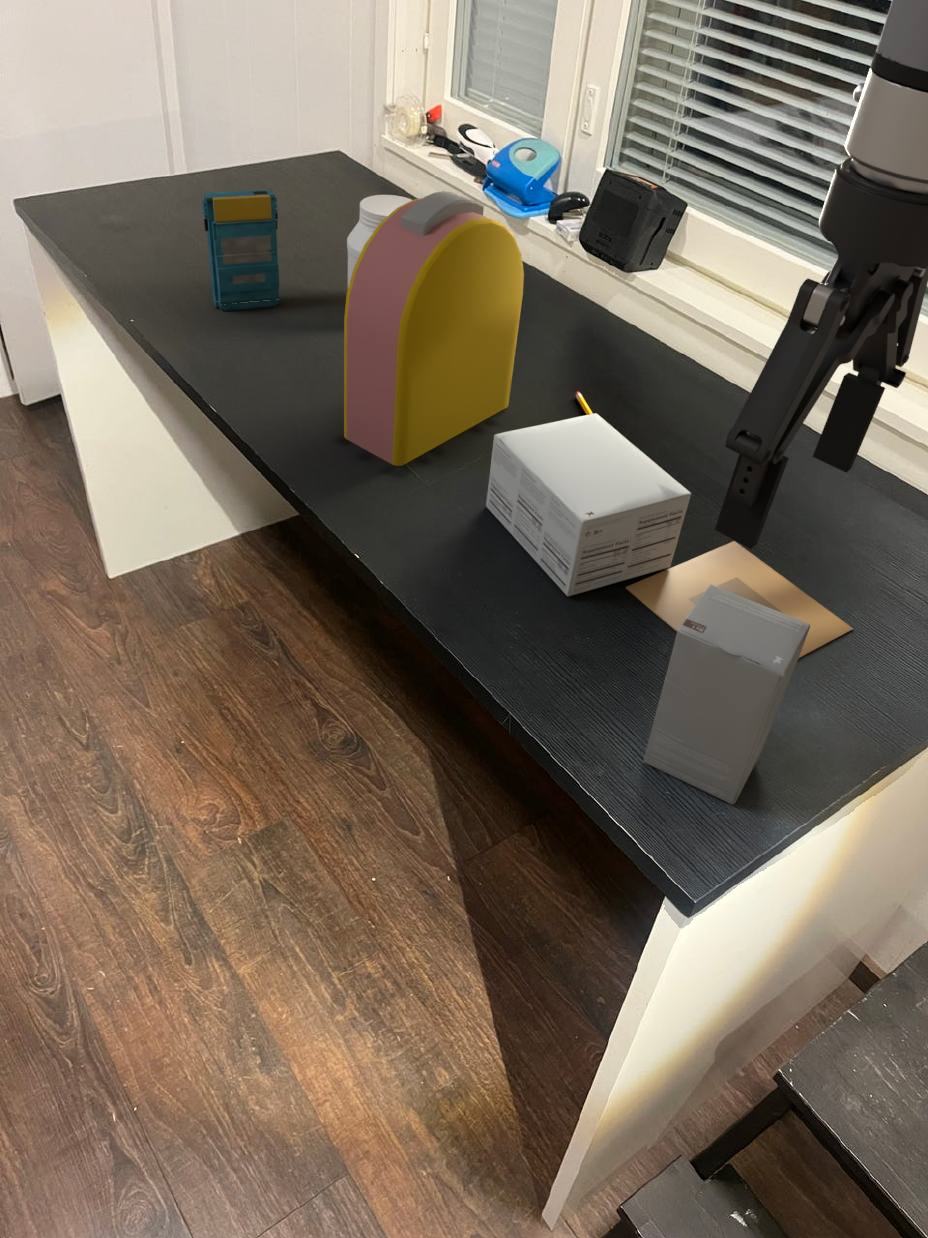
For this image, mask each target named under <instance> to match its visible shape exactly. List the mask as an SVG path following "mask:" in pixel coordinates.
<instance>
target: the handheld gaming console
mask: <svg viewBox="0 0 928 1238" xmlns="http://www.w3.org/2000/svg"><path fill="white" fill-rule="evenodd" d="M203 196H204V198H203V199H201V204H202V207H201V208H202V210H203V211H202V215H203V217H204V218H203V222H204V223H203V224H204V231H205V232H206V237H207V246H208V247H207V248H208V258H209V268H210V279H211V293H212V299H213V305H214V307H215V309H217V310H218V309H220V310H222V311H223V312H232V311H244V310H253V309H254V310H255V309H266V308H276V307H277V305H279V304H280V271H279V262H278V259H279V258H278V239H277V230H278V219H279V216H278V215H279V214H278V213H279V212H278V204H277V203H278V199H277V197H276V194H275V193H274V192H273V190H266V189H258V190H257V189H256V190H237V191H218V192H216V191H215V192H208V193H203ZM276 299H279V300H276ZM263 300H270V301H263ZM216 301H219V302H216ZM249 301H259V302H249ZM240 302H241V303H240ZM242 302H248V303H242ZM232 303H233V304H232ZM234 303H237V304H234ZM221 304H222V305H221ZM224 304H226V305H224Z"/></svg>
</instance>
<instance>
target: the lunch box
mask: <svg viewBox="0 0 928 1238" xmlns="http://www.w3.org/2000/svg"><path fill="white" fill-rule="evenodd" d="M484 208H485V207H484V205H483V203H481V202H478V201H476V200H473V199H471V198H468V197H466V196H463V195H460V194H458V193H455V192H452V191H445V190H444V191H443V190H442V191H437V192H436V191H435V192H433V193H430V194H428V195H426V196H424V197H422V198H414V199H412V201H410V202H408V203H406V204H404V205H402V206H400V207H398V208H397V209H395V210H394V211H393V212H392V213H391V214H390V215H389V216H388V217H386V218H385V219H384V220H383V221H382V222H381V223H380V224H379V225H378V227H377V228H376V229H375V231H374V232H373V234H372V235H371V236H370V238H369V239H368V241H367V242H366V243H365V245H364V247H363V249H362V252H361V254H360V256H359V258H358V260H357V262H356V264H355V267H354V269H353V273H352V276H351V280H350V283H349V287H348V286H347V292H346V296H345V297H346V298H345V308H344V318H343V321H344V322H343V323H344V324H343V334H344V335H343V338H344V339H343V347H344V349H343V366H344V367H343V388H344V389H343V437H344V438H345V439H346V440H347V441H349V442H350V443H352V444H354V445H356V446H358V447H360V448H361V449H363V450H365V451H367V452H369V453H371V454H372V455H374V456H376V457H378V458H379V459H381V460H383V461H385V462H387V463H388V464H389V465H392V466H395V467H402V466H404V465H406V464H408V463H409V462H411V461H413V460H415V459H417V458H419V457H420V456H422V455H424V454H426V453H428V452H429V451H431V450H433V449H435V448H436V447H438V446H441V445H442V444H444V443H446V442H447V441H449V440H451V439H453V438H455V437H456V436H458V435H459V434H462V433H463V432H466V431H467V430H469V429H471V428H473V427H474V426H476V425H478V424H480V423H481V422H483V421H485V420H487V419H489V418H491V417H492V416H494V415H496V414H498V413H500V412H501V411H503V410H505V409H507V408H509V403H510V396H511V395H510V394H511V387H512V379H513V373H514V372H513V371H514V366H515V365H514V364H515V357H516V348H517V342H518V333H519V326H520V320H521V319H520V318H521V310H522V303H523V295H524V279H525V278H524V277H525V272H524V265H523V264H524V263H523V257H522V252H521V250H520V248H519V245H518V243H517V239H516V238H515V236H514V234H513V233H512V231H510V229H508V227H506V225H504V223H502V222H501V221H498V220H496V219H493V218H491V217H489V216H485V215H484Z"/></svg>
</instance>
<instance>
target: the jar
mask: <svg viewBox="0 0 928 1238" xmlns="http://www.w3.org/2000/svg"><path fill="white" fill-rule="evenodd" d="M412 200H413V199H411V198H409V197H405V196H400V195H395V194H375V195H369V196H367V197H365V198H362V200H360V202H359V211H358V212H359V219H358V221H357V222H356V224H355V226H354V227H353V228H352V230H351V232H350V233H349V234H348V236H347V239H346V249H347V288H348V287H349V283H350V280H351V276H352V273H353V269H354V267H355V264H356V262H357V260H358V258H359V256H360V254H361V252H362V249H363V247H364V245H365V243H366V242H367V241H368V239H369V238H370V236H371V235H372V234H373V232H374V231H375V229H376V228H377V227H378V225H379V224H380V223H381V222H382V221H383V220H384V219H385V218H386V217H388V216H389V215H390V214H391V213H392V212H393V211H394V210H395V209H397V208H398V207H400V206H402V205H404V204H406V203H408V202H410V201H412Z"/></svg>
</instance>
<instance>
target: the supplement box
mask: <svg viewBox="0 0 928 1238" xmlns="http://www.w3.org/2000/svg"><path fill="white" fill-rule="evenodd" d="M490 461H491V462H490V469H489V478H488V485H487V492H486V500H485V501H486V502H485V507H486V508H487V509H488V511H490V512H491V514H492V515H493V516H494V517H495V518H496V519H497V520H498V521H499V522H500V523H501V525H502V526H503V527H504V529H506V530H507V532H508V533H510V535H512V537H513V538H514V539H515V540H516V541H517V543H519V545H520V546H521V547H522V548H523V549H524V550H525V551H526V552H527V553H528V554H529V556H530V557H531V558H532V559H533V560H534V561H535V563H537V564H538V566H539V567H540V568H541V569H542V570H543V571H544V572H545V573H546V574H547V576H548V577H549V578H550V579H551V580H552V581H553V582H554V583H555V585H557V587H558V588H559V589H560V590H561V591H562V592H563V593H564V594H565V596H566V597H572V596H574V595H578V594H582V593H585V592H589V591H592V590H596V589H598V588H599V589H600V588H602V587H606V586H609V585H613V584H617V583H619V582H624V581H627V580H630V579H634V578H638V577H640V576H644V575H648V574H651V573H655V572H659V571H661V570H662V571H663V570H666V569H670V568H671V567H672V562H673V558H674V555H675V552H676V549H677V545H678V542H679V538H680V536H681V535H680V534H681V530H682V528H683V523H684V519H685V516H686V513H687V510H688V506H689V504H690V503H689V502H690V499H691V496H692V492H691V491H689V490H688V489H687V488H686V487H685V486H683V485H682V484H681V483H680V482H678V481H677V480H676V479H674V477H672V476H671V475H670V474H669V473H668V472H666V471H665V470H664V469H663V468H662V467H661V466H659V465H658V464H657V463H656V462H655V461H654V460H652V459H651V458H650V457H649V456H647V455H646V454H645V453H644V452H643V451H642V450H640V449H639V448H638V447H637V446H636V445H635V444H633V443H632V442H630V440H628V439H627V438H626V437H625V436H624V435H623V434H621V433H620V432H619V431H618V430H617V429H615V428H614V427H613V426H612V424H610V423H609V422H607V421H606V420H605V419H604V418H603V417H601V416H600V415H599V414H598V413H593V414H590V415H587V414H586V415H580V416H575V417H571V418H565V419H561V420H557V421H553V422H552V421H551V422H547V423H542V424H538V425H533V426H528V427H522V428H518V429H513V430H508V431H503V432H500V433H496V434H494V435H493V443H492V451H491V460H490Z"/></svg>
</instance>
